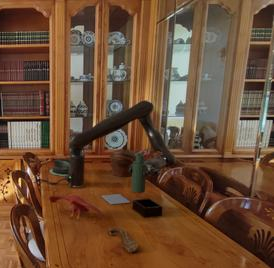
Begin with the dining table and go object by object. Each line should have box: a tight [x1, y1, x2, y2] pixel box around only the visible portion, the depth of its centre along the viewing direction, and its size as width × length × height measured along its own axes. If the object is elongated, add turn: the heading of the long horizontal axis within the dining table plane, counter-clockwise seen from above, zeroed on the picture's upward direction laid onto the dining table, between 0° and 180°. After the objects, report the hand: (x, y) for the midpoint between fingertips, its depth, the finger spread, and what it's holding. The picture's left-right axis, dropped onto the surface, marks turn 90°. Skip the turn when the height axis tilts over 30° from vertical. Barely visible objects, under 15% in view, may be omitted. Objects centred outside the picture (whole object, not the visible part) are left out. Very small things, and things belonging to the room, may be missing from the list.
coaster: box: [101, 193, 131, 206], centre depth 126 cm, size 11×11×1 cm
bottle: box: [130, 153, 147, 194], centre depth 113 cm, size 6×6×18 cm
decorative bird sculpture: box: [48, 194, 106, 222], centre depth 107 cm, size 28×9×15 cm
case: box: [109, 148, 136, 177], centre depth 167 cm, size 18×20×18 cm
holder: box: [132, 198, 163, 219], centre depth 111 cm, size 9×9×4 cm
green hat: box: [48, 158, 69, 177], centre depth 174 cm, size 15×19×20 cm
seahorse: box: [108, 226, 139, 254], centre depth 89 cm, size 6×15×2 cm, turn 11°
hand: (136, 172), depth 111 cm, fingers closed on bottle, 6 cm apart
